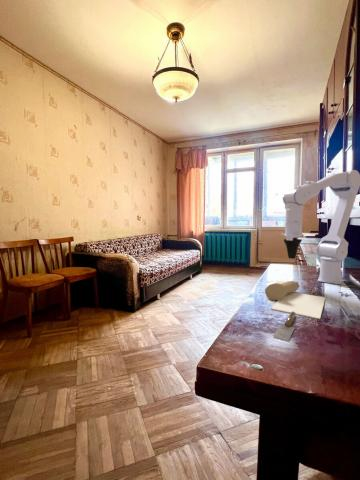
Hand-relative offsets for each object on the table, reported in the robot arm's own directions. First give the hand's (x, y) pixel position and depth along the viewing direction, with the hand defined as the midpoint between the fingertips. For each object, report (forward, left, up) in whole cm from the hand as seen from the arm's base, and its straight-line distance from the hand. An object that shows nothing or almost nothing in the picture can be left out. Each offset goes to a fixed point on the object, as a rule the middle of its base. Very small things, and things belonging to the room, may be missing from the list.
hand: (291, 258), depth 93 cm
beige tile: (0, -2, -11) cm, 11 cm away
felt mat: (+20, +6, -10) cm, 23 cm away
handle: (+7, +3, -8) cm, 11 cm away
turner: (+40, +6, -10) cm, 42 cm away
